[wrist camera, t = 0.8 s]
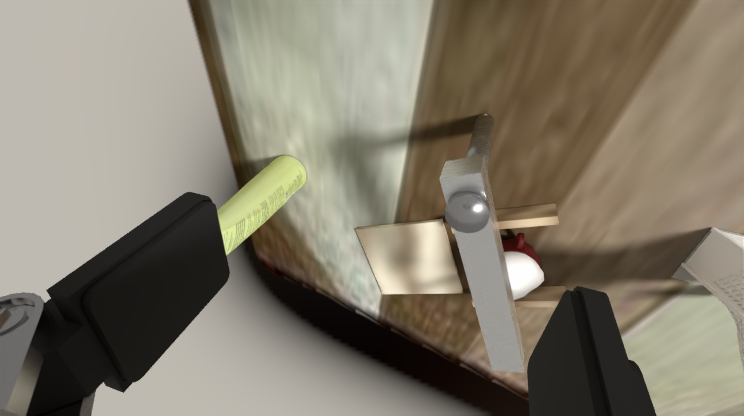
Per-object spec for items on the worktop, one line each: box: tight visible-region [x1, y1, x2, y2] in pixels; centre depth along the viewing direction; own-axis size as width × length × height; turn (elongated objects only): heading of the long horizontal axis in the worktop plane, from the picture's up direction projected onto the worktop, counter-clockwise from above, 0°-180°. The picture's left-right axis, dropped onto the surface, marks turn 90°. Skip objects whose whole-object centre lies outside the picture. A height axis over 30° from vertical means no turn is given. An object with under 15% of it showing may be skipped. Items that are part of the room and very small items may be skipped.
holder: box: [451, 203, 566, 307], centre depth 43 cm, size 11×13×2 cm
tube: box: [217, 155, 306, 255], centre depth 40 cm, size 6×5×20 cm
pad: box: [356, 219, 463, 294], centre depth 50 cm, size 12×12×1 cm
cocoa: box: [501, 233, 544, 300], centre depth 40 cm, size 10×6×12 cm, turn 156°
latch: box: [440, 114, 524, 373], centre depth 33 cm, size 20×3×17 cm, turn 20°
